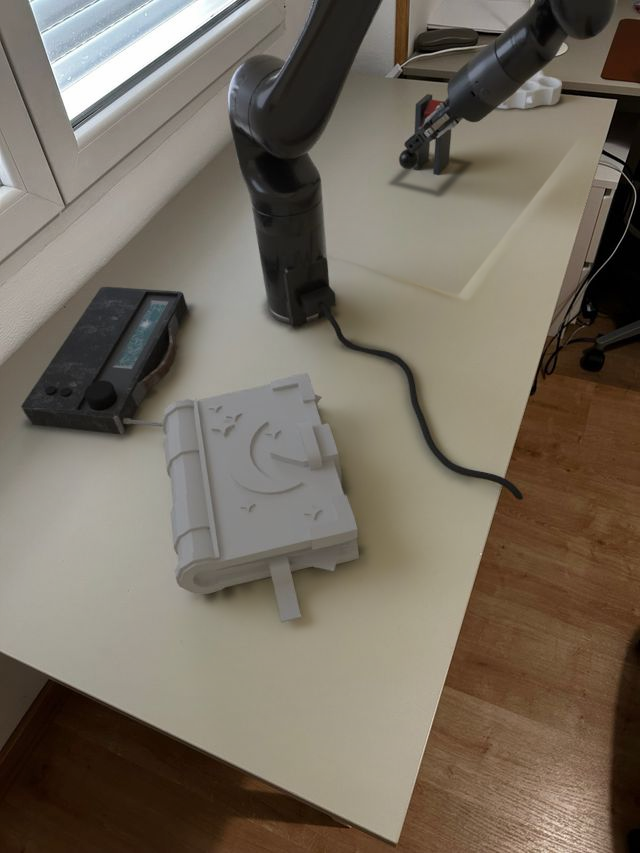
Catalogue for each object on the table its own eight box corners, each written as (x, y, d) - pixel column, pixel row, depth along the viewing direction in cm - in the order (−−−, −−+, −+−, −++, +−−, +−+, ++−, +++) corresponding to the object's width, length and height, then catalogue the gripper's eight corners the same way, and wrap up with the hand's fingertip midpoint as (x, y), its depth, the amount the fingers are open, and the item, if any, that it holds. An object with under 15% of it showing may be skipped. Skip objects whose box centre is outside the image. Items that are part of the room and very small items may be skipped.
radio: (98, 279, 96) (226, 287, 93) (108, 302, 100) (231, 311, 96) (15, 401, 80) (165, 417, 77) (29, 424, 84) (174, 440, 80)
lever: (414, 175, 109) (411, 162, 106) (397, 171, 110) (394, 158, 107) (447, 114, 111) (445, 99, 108) (430, 111, 112) (428, 96, 110)
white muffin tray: (555, 82, 140) (561, 111, 131) (470, 83, 143) (470, 112, 133) (558, 65, 138) (565, 94, 128) (472, 67, 140) (472, 95, 131)
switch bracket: (438, 194, 113) (443, 120, 104) (393, 183, 117) (394, 111, 107) (467, 163, 120) (474, 91, 110) (423, 154, 123) (426, 83, 114)
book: (190, 650, 62) (170, 615, 56) (168, 436, 80) (152, 394, 75) (382, 601, 64) (382, 563, 58) (319, 403, 82) (314, 359, 77)
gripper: (491, 41, 95) (413, 112, 109) (452, 75, 88) (375, 146, 103) (520, 84, 97) (440, 148, 111) (484, 121, 90) (404, 184, 104)
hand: (409, 147), depth 107 cm, fingers closed
